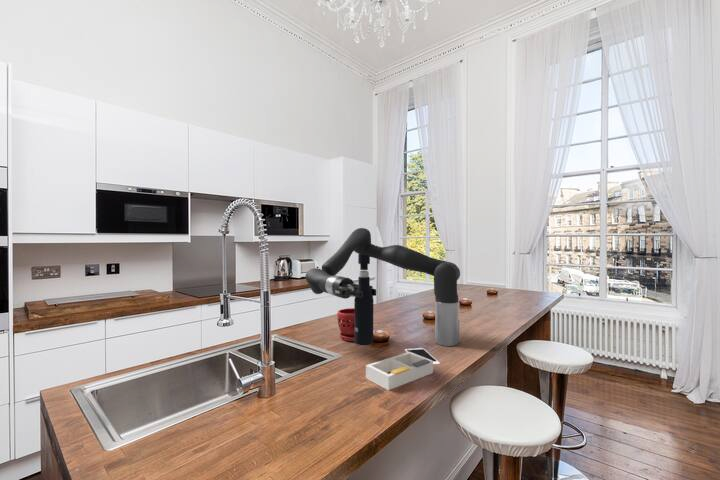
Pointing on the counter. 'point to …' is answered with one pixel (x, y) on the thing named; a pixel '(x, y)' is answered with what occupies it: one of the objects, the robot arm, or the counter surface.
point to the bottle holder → (399, 370)
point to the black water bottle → (363, 305)
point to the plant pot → (346, 323)
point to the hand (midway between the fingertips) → (368, 293)
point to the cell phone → (423, 354)
